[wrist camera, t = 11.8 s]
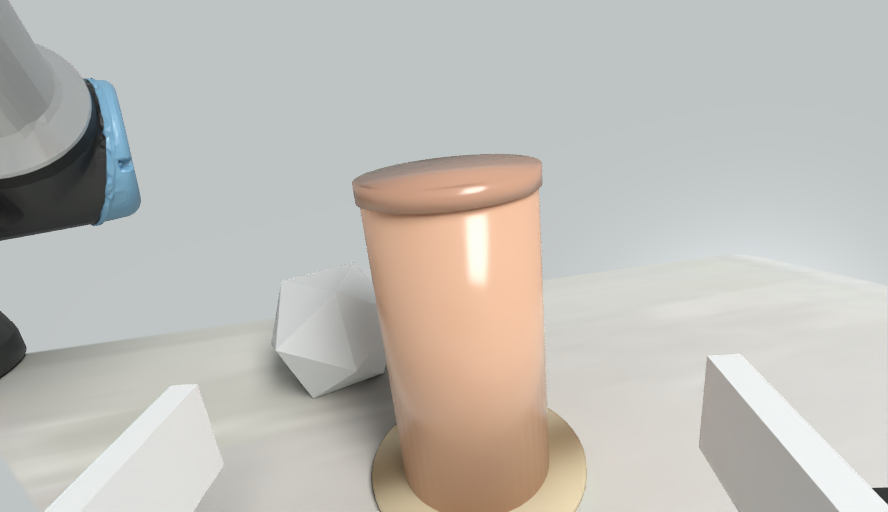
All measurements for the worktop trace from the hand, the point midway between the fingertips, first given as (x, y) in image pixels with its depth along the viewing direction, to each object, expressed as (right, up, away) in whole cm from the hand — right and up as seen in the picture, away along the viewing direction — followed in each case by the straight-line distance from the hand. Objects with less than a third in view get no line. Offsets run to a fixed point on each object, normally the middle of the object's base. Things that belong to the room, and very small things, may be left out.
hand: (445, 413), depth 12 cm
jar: (+2, -6, +12) cm, 14 cm away
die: (-7, -5, +22) cm, 23 cm away
